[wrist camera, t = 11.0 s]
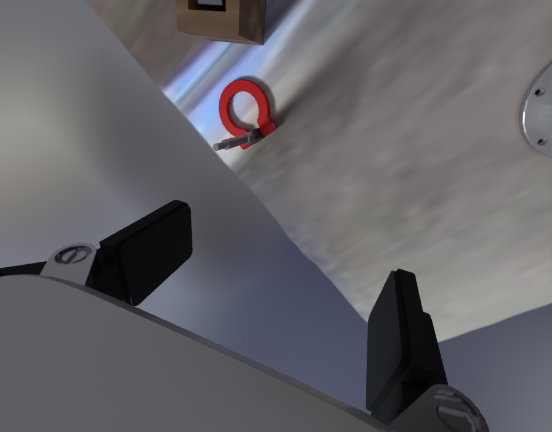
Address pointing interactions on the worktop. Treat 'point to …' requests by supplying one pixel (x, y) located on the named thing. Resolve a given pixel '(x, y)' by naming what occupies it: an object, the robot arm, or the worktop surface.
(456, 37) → the worktop surface
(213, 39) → the posts
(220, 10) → the rail
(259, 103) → the tow hook
